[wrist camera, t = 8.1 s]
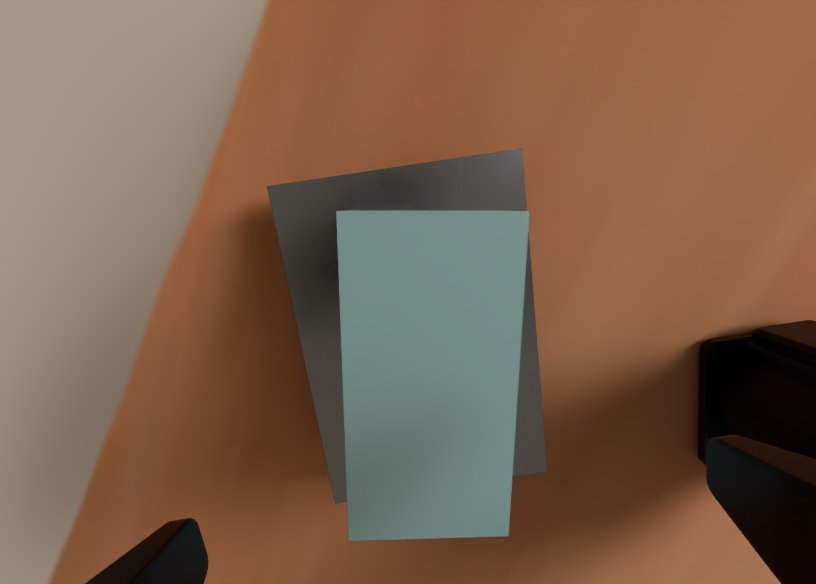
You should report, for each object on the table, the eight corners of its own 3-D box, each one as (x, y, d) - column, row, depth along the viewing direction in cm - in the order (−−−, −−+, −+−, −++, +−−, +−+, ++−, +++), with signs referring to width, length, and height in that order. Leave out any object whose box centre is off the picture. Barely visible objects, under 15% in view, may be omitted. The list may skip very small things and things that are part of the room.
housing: (491, 209, 14) (529, 211, 10) (480, 457, 16) (508, 536, 12) (352, 210, 14) (336, 211, 10) (359, 459, 16) (348, 541, 12)
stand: (527, 437, 19) (547, 471, 16) (342, 465, 19) (335, 503, 16) (502, 157, 16) (521, 148, 14) (286, 189, 16) (266, 186, 14)
